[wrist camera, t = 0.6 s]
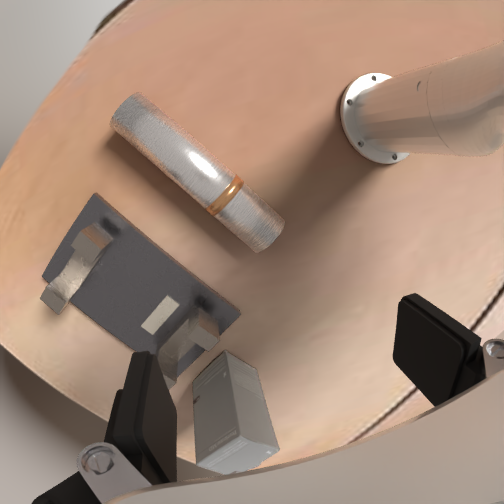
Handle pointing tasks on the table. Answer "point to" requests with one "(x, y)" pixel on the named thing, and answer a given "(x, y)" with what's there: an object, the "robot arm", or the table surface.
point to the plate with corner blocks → (135, 290)
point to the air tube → (197, 171)
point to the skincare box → (231, 417)
